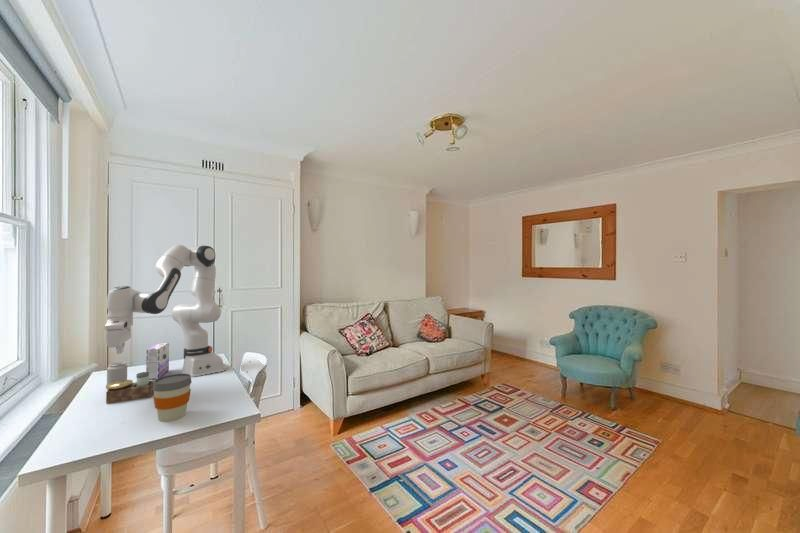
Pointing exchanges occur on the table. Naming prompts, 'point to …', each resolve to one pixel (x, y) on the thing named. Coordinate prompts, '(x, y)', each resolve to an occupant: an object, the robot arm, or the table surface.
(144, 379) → the cartridge
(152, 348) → the candy box
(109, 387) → the gold rounded dome
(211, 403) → the table surface
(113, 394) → the housing
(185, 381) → the reusable coffee cup
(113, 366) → the can
